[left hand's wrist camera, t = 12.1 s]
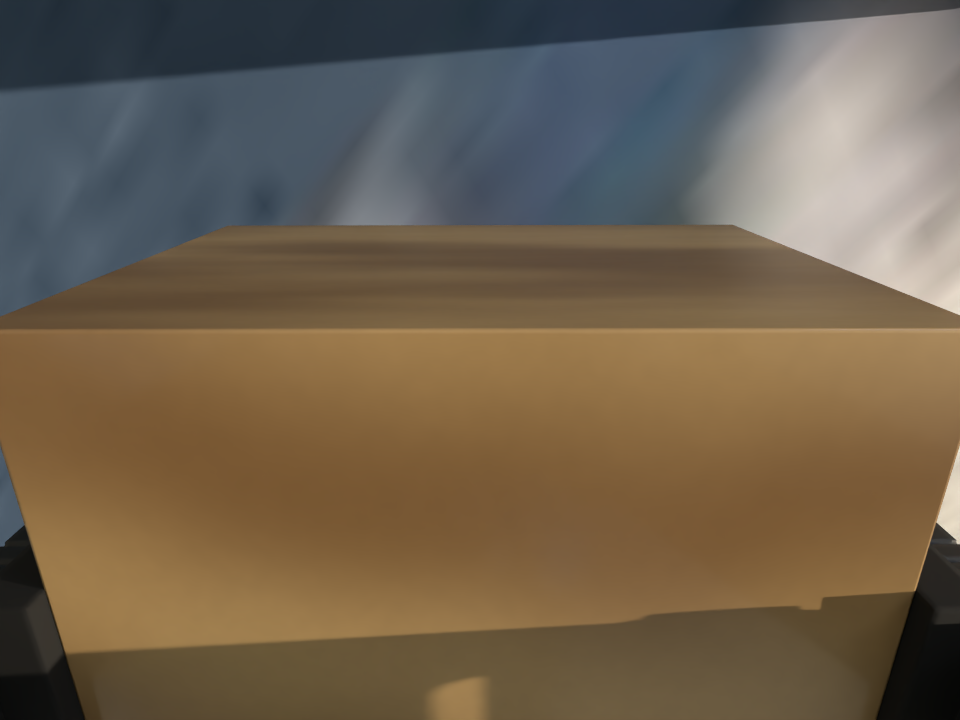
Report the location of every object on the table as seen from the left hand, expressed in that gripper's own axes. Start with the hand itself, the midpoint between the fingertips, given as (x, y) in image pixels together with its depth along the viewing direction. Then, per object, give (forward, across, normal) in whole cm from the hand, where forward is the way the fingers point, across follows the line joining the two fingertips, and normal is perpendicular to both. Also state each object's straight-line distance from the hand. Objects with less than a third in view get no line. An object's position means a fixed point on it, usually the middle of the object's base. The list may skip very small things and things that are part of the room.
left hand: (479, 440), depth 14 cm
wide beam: (+1, 0, -36) cm, 36 cm away
